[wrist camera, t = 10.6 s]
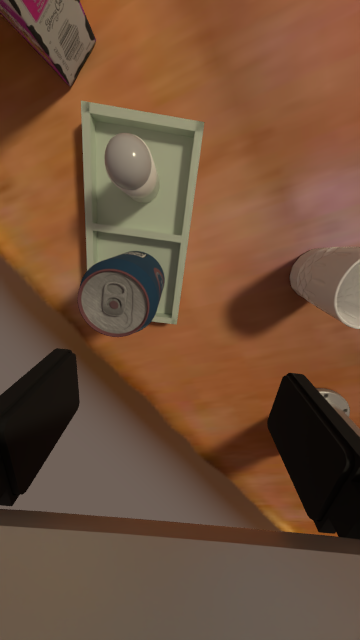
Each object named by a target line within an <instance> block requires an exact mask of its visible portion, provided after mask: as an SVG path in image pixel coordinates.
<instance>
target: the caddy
mask: <svg viewBox="0 0 360 640" xmlns="http://www.w3.org/2000/svg"><path fill="white" fill-rule="evenodd" d="M81 115H82V142H83V170H84V197H85V224H86V252H87V271H88V269H89V268H91V267H92V266H93V265H94V264H96V263H98V262H100V261H103V260H106V259H109V258H112V257H115V256H118V255H121V254H123V253H126V252H130V251H141V252H144V253H147V254H149V255H151V256H152V257H154V258H155V259H156V260H157V261H158V263H159V264H160V265H161V267H162V269H163V272H164V277H165V283H164V288H163V291H162V295H161V298H160V302H159V305H158V308H157V312H156V314H155V316H154V318H153V320H152V322H161V323H169V324H177V318H178V310H179V303H180V296H181V289H182V281H183V274H184V267H185V259H186V252H187V245H188V238H189V230H190V223H191V216H192V208H193V201H194V194H195V186H196V179H197V172H198V165H199V157H200V150H201V143H202V135H203V128H204V122H200V121H195V120H189V119H183V118H177V117H172V116H166V115H160V114H154V113H149V112H143V111H137V110H131V109H126V108H120V107H114V106H108V105H103V104H97V103H91V102H86V101H81ZM120 133H130V134H134V135H136V136H138V137H139V138H141V139H142V140H143V141H144V142H145V143H146V145H147V146H148V148H149V150H150V152H151V155H152V158H153V161H154V164H155V167H156V170H157V173H158V176H159V180H160V189H159V192H158V194H157V196H156V197H155V198H154V199H153V200H152V201H151V202H148V203H139V202H136V201H135V200H133V199H132V198H131V197H130V196H128V195H127V194H126V193H125V192H123V191H122V190H121V189H120V188H118V187H117V186H116V185H115V184H114V183H113V182H112V181H111V179H110V178H109V176H108V174H107V172H106V168H105V161H104V157H105V149H106V146H107V144H108V142H109V141H110V139H111V138H112V137H114V136H115V135H117V134H120Z"/></svg>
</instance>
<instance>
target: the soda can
mask: <svg viewBox="0 0 360 640" xmlns="http://www.w3.org/2000/svg"><path fill="white" fill-rule="evenodd" d="M164 283H165V277H164V272H163V269H162V267H161V265H160V264H159V263H158V261H157V260H156V259H155V258H154V257H152V256H151V255H149V254H147V253H144V252H141V251H130V252H126V253H123V254H121V255H118V256H115V257H112V258H109V259H106V260H103V261H100V262H98V263H96V264H94V265H93V266H92V267H91V268H89V269H88V271H87V272H86V273H85V275H84V276H83V278H82V281H81V284H80V288H79V292H78V307H79V310H80V313H81V315H82V317H83V318H84V320H85V321H86V322H87V324H88V325H89V326H91V327H92V328H93V329H94V330H96V331H98V332H99V333H101V334H104V335H107V336H112V337H123V336H127V335H130V334H133V333H135V332H138V331H140V330H142V329H143V328H145V327H146V326H147V325H148V324H149V323H150V322H151V321H152V320H153V318H154V316H155V314H156V312H157V308H158V305H159V302H160V298H161V295H162V291H163V288H164Z"/></svg>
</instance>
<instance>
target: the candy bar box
mask: <svg viewBox="0 0 360 640" xmlns="http://www.w3.org/2000/svg"><path fill="white" fill-rule="evenodd" d="M0 13H1V14H2V15H3V16H4V17H5V18H6V19H7V20H8V21H9V22H10V23H11V24H12V26H13V27H14V28H15V29H16V30H17V31H18V32H19V33H20V34H21V35H22V36H23V37H24V38H25V39H26V40H27V41H28V42H29V44H30V45H31V46H32V47H33V48H34V49H35V50H36V51H37V52H38V53H39V54H40V55H41V56H42V57H43V58H44V59H45V61H46V62H47V63H48V64H49V65H50V66H51V67H52V68H53V69H54V70H55V71H56V72H57V73H58V74H59V75H60V76H61V78H62V79H63V80H64V81H65V82H66V83H67V84H68V85H69V86H72V84H73V82H74V81H75V79H76V77H77V75H78V73H79V71H80V69H81V67H82V66H83V64H84V62H85V61H86V59H87V57H88V56H89V54H90V53H91V51H92V48H93V46H94V44H95V42H96V39H95V36H94V34H93V32H92V29H91V27H90V25H89V22H88V20H87V18H86V15H85V13H84V10H83V8H82V6H81V3H80V1H79V0H0Z"/></svg>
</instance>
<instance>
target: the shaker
mask: <svg viewBox="0 0 360 640" xmlns="http://www.w3.org/2000/svg"><path fill="white" fill-rule="evenodd" d="M104 161H105V168H106V172H107V174H108V176H109V178H110V179H111V181H112V182H113V183H114V184H115V185H116V186H117V187H118V188H120V189H121V190H122V191H123V192H125V193H126V194H127V195H128V196H130V197H131V198H132V199H133V200H135V201H136V202H139V203H148V202H151V201H152V200H153V199H154V198H155V197H156V196H157V194H158V192H159V189H160V180H159V176H158V173H157V170H156V167H155V164H154V161H153V158H152V155H151V152H150V150H149V148H148V146H147V145H146V143H145V142H144V141H143V140H142V139H141V138H139V137H138V136H136V135H134V134H130V133H120V134H117V135H115V136H114V137H112V138H111V139H110V141H109V142H108V144H107V146H106V149H105V157H104Z"/></svg>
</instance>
